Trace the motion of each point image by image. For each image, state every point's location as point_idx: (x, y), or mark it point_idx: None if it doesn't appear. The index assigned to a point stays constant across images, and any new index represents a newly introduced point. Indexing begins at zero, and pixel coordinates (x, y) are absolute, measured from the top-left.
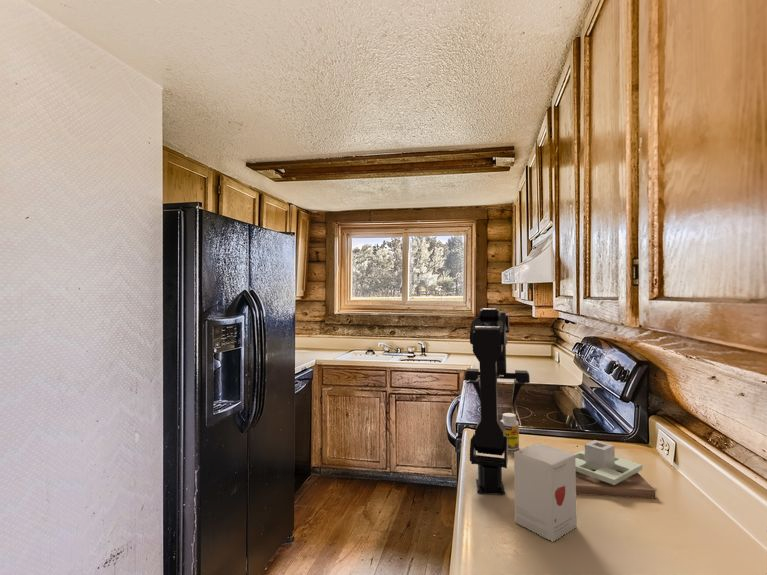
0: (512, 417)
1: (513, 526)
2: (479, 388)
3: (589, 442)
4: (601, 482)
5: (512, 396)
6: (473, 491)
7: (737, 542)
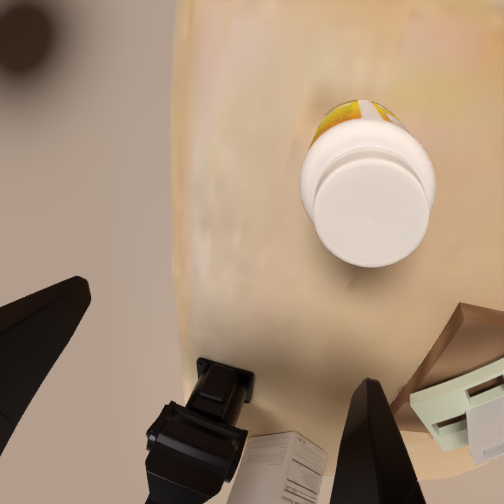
0: (378, 263)
1: (246, 438)
2: (14, 423)
3: (491, 443)
4: (445, 424)
5: (370, 444)
6: (194, 378)
7: (474, 464)
